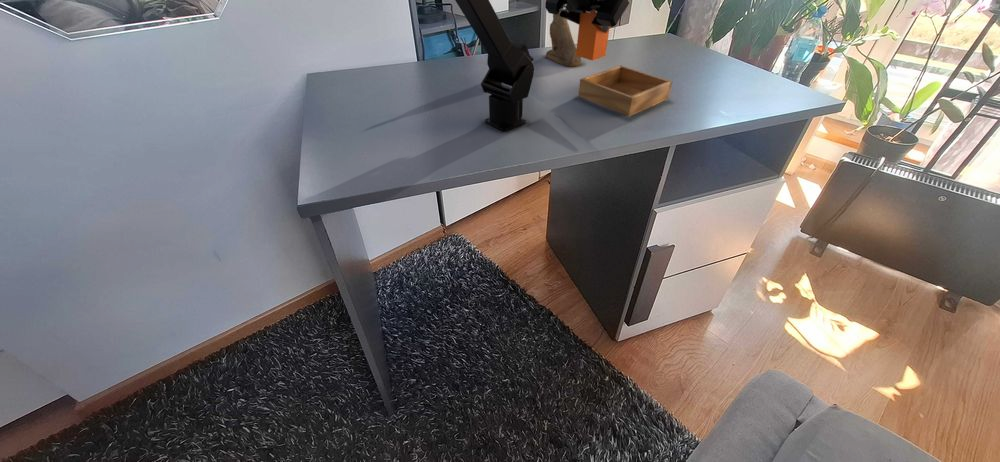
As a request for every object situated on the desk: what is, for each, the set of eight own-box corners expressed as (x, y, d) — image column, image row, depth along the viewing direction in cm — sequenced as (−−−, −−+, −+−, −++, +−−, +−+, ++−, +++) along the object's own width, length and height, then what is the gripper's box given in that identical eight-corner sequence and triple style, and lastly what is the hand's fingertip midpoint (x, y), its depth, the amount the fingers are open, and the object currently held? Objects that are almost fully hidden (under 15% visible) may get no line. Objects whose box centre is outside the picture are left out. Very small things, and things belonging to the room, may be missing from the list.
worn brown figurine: (544, 65, 124) (540, -3, 115) (559, 62, 126) (556, -6, 117) (568, 68, 115) (565, -6, 106) (584, 64, 116) (582, -9, 108)
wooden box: (627, 119, 89) (632, 98, 86) (577, 99, 98) (580, 78, 95) (667, 102, 96) (672, 81, 93) (617, 84, 105) (620, 65, 102)
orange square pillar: (592, 60, 96) (599, 7, 89) (575, 55, 99) (581, 4, 92) (605, 56, 98) (613, 4, 91) (588, 51, 101) (595, 0, 94)
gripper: (633, -55, 77) (652, 3, 89) (557, -61, 87) (584, -9, 100) (601, -1, 78) (624, 49, 90) (530, -14, 88) (560, 32, 101)
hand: (597, 28), depth 95 cm, fingers closed on orange square pillar, 5 cm apart
